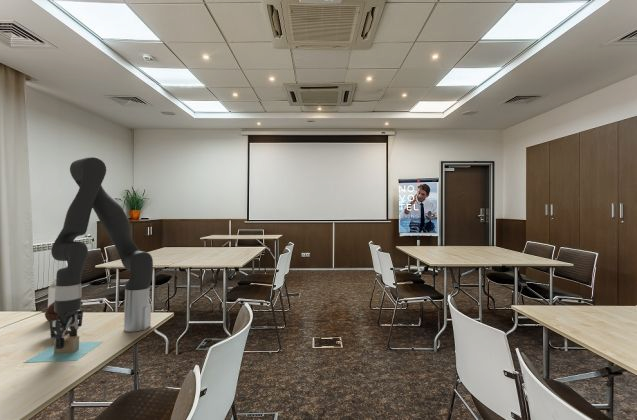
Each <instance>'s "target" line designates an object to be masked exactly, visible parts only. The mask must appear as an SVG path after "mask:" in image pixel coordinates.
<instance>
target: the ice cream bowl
mask: <svg viewBox="0 0 637 420" xmlns="http://www.w3.org/2000/svg"><path fill="white" fill-rule="evenodd" d="M44 317H45V319H46V320H47V322H49V323H50V322H51V321H55V320H57V317H58V314H57V313H56V312H54V302H53V303H52V304H51V305H49V307H48V306H47V310H46V311H45V313H44ZM61 328H64V327H61ZM69 331H70V329H68V330H67V331H66V332H65V336H66V335H69ZM55 333H56V332H55ZM61 334H62V331H61Z"/></svg>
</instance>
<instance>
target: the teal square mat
mask: <svg viewBox="0 0 637 420" xmlns="http://www.w3.org/2000/svg"><path fill="white" fill-rule="evenodd" d="M53 343H54V344H53V345H51V346H49V348H46V349H45V350H42V351H41V352H39V353H38V354H35V355H34V356H32V357H30V358H28V359H26V360H25V361H24V362H23V363H24V364H26V363H29V364H31V363H48V362H49V363H51V362H55V363H56V362H73V361H74V362H76V361H78V360H80V359H81V358H83V357H84V356H85V355H87V354H88V353H89V352H91V351H92V350H94V349H95V348H96V347H98V346H99V345H100V344H102V343H103V341H81V342H80V336H79V335H77V336H70V337H69V336H64V348H62V349H56V339H55V340H53Z"/></svg>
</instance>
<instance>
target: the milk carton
mask: <svg viewBox="0 0 637 420" xmlns="http://www.w3.org/2000/svg"><path fill="white" fill-rule="evenodd" d="M47 289H48V294H47V295H48V296H47V297H48V298H47V308H48V307H49V305H51V304H52V303H53V302H54V301H55V289H56V278H54V279H53V281H52V283H51V284H50V286H49V287H48V288H47Z"/></svg>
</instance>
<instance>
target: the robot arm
mask: <svg viewBox="0 0 637 420" xmlns="http://www.w3.org/2000/svg"><path fill="white" fill-rule="evenodd" d="M69 172H70V175H71V178H72V179H73V180H74V181H75V183H76V185H77V186H78V190H77V193H76V195H75V196H74V198H73V200H72V202H71V203H70V204H69V207H68V208H67V211H66V213H65V219H64V222H63V227H62V229H61V230H60V232H59V234H58V235H57V237H56V239H55V240H54V242H53V244H52V247H51V249H50V250H51V251H50V253H51V257H52V258H53V259H54V260H56V261H59V262H68V264H67V266H66V267H62V268H59V269H58V270H56V274H55V275H56V277H55V279H56V289H55V301H54V312H56V313H57V314H58V317H57V320H55V321H51V322H49V327H50V328H49V332H50V339H55V340H56V349H62V348H64V337H66V335H65V332H66V331H67V330H69V334H68V337H70V336H78V330H79V329H80V328H79V327H82V325H83V317H84V310H83V309H81V308H82V291H83V290H82V289H83V288H82V272H83V269H84V267H85V266H84V265H85V263H86V260H87V257H88V254H89V249H88V247H87V245H86V243H84V242H83V241H75V239H76V238H78V237H80V236H84V235H86V233H87V231H88V227H89V223H90V218H91V213H92V210H93V211H94V212H95V214H96V216H97V218H98V220H99V222H100V224H101V226H102V228H104V230H105V232H106V233H107V236H108V237H109V239H110V240H111V242H112V244H113V245H114V247H115V249H116V251H117V253H118V256H119V259H120V262H121V263H122V265H123V267H124V268H125V269H126V270H127V271H128V272H129V279H128V280H127V281H126V282H125V285H124V310H123V311H124V317H123V323H124V324H123V330H124V331H125V332H129V333H131V332H139V331H145V330H147V329H148V328H149V327H150V326H151V321H152V319H151V318H152V317H151V316H152V304H151V303H150V293H151V292H150V291H151V290H150V287H151V283H152V280H153V269H154V267H153V266H154V262H153V261H154V260H153V257H152V254H150V253H149V252H146V251H141V250H140V249H139V247H138V246H137V244H136V243H135V241H134V239H133V237H132V230H131V223H130V220H129V217H128V216H127V215H126V212H125V210H124V209H123V206H122V205H121V204H120V203H118V202H117V200H115V199H114V197H112V196H111V195H110V194H109V193H108V192H107V191H106V190H105V189H104V188H103V186H102V183H103V181H104V179H105V177H106V175H107V166H106V163H105V162H104V160H102V159H101V158H99V157H96V156H90V157H89V156H87V157H84V158H79V159H77V160H74V161H72V163H70V166H69ZM61 327H64V328H61ZM61 331H62V334H61ZM55 332H56V333H55Z"/></svg>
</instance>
